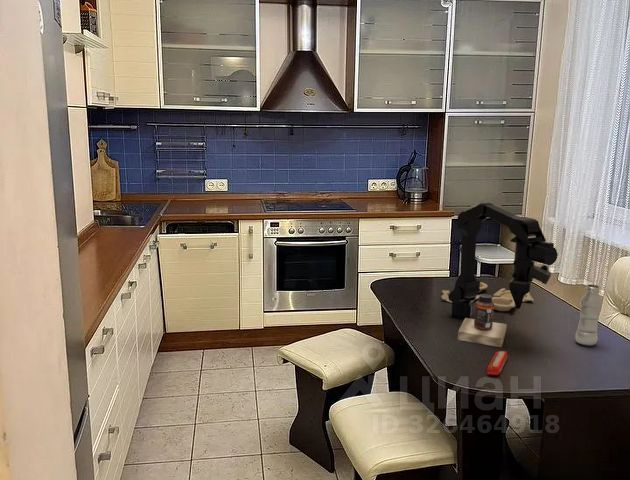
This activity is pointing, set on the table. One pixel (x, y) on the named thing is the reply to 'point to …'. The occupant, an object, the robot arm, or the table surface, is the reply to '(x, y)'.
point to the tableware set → (496, 298)
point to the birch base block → (482, 333)
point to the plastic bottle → (589, 316)
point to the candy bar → (497, 363)
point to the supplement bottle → (484, 312)
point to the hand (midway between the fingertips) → (519, 304)
